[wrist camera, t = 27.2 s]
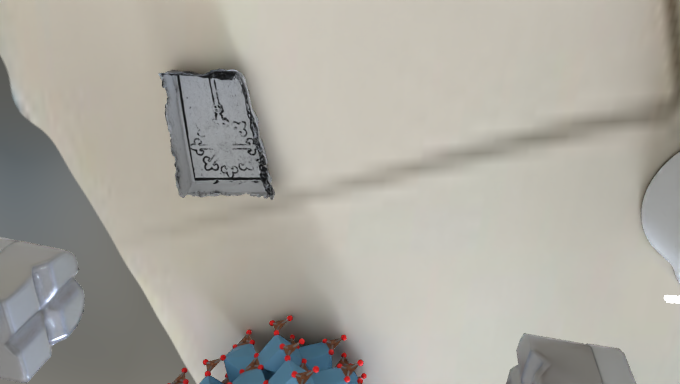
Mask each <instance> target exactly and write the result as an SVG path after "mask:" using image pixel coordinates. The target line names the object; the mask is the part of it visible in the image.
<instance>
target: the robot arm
mask: <svg viewBox="0 0 680 384" xmlns="http://www.w3.org/2000/svg"><path fill="white" fill-rule="evenodd" d="M641 220H642V226H643V230H644V233H645V235H646V237H647V239H648V241H649V242H650V244H651V245H652V246H653V247H654V249H655V250H656V251H657V252H658V253H660V254H661V255H662V256H663V257H664V258H665V259H666V260H667V261H668V262H669V263H670V264H671V265H672V266H673V270H674V273H675V275H676V278H677V280H678V282H679V283H680V152H678V153H677V154H676V155H675V156H673V157H672V158H671V159H670V160H669V161H668V162H667V163H666V164H665V165H664V166H663V167H662V168H661V169H660V170H659V171H658V172H657V174H656V175H655V176H654V178H653V179H652V181H651V183H650V185H649V186H648V188H647V191H646V193H645V196H644V199H643V203H642V209H641ZM78 270H79V267H78V263H77V259H76V256H75V254H73V253H71V252H69V251H67V250H63V249H58V248H53V247H48V246H43V245H38V244H33V243H29V242H24V241H16V240H12V239H7V238H2V237H0V379H5V380H10V381H16V382H21V383H27V382H28V381H29V380H30V379H31V378H32V376H33V375H34V374H35V373H36V372H37V371H38V370H39V369H40V368H41V367H42V365H43V364H44V363H45V362H46V361H47V360H48V359H49V358H50V357H51V355H52V345H53V344H55V343H57V342H59V341H61V340H63V339H65V338H67V337H68V336H69V335H70V334H71V333H72V332H73V330H74V329H75V328H76V327H77V326H78V323H79V321H80V319H81V316H82V314H83V312H84V304H85V297H84V292H83V288H82V287H81V286H80V284H79V283H78V282H77V281H76V280H75V279H74V276H75V275H76V273H77V272H78ZM664 299H665V301H666V303H680V296H666V295H665V296H664ZM516 351H517V358H518V365H517V366H515V367H513V368H512V369H510V372H509V375H508V379H507V382H506V384H636V381H635V379H634V376H633V374H632V371H631V369H630V366H629V364H628V362H627V359H626V357H625V354H624V353H623V352H622V351H621V350H620V349H619V348H612V347H606V346H600V345H594V344H583V343H578V342H572V341H566V340H561V339H555V338H549V337H543V336H538V335H532V334H526V333H524V334H523V336H522V337H521V339H520V341H519V344H518V347H517V350H516Z"/></svg>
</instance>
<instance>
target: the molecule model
mask: <svg viewBox="0 0 680 384" xmlns="http://www.w3.org/2000/svg"><path fill="white" fill-rule="evenodd" d="M292 319H293V317H292V316H291V315H289V316H288V317H287V319H285V320H282V321H278V322H274V321H273V320H271V321H270V323H269V324H270V325H271V326H274V328H275V331H274V337H273V338H272V339H271V340H270V341H269V342H268V344H267V345H266V346H265V347H264V348H263V349H262V351H261V352H260V353H256V352H255V349H254V346H253V345H254V344H255V341H254V340H251V337H250V335H251V333H252V332H251V330H247V332H246V334H247V335H246V336H245V337H244V338H243V339H242V340H241V341H240V343H239V344H238V345H237V344H234V345H233V349H232V350H231V351H230V352H229V353H228V354H227V355H226V356H225V355H221V357H220V359H216V360H212V361H208V360H207V359H205V360H204V361H203V364H204V365H206V366H207V371H206V372H205V376H206V377H205V378H204V379H203V380H202V381H201V382H200V384H362V383H363V380H362V378H363V379H365V378H366V374H365V373H363V374H362V375H361V377H357V375H356V374H355V372H354V370H355V369H356V368H357V366H358V365H359V366H362V365H363V361H362V360H358V362H357V363H356V364H349V363H348V361H347V359H346V356H347V355H346V353H342V354H341V356H342V359H341V360H340V361H339V363H338V364H337V365H336V366H335V368H332V356H331V355H333V354H334V348H335V347H336V346H337V345H338V344H339V343H340V341H341V340H343V341H344V340H346V338H347V337H346V335H342V336H341V338H340V339H335V340H330V341H327V339H323V340H322V342H320V343H316V344H311V345H307V346H302V347H300V346H299V344H301V345H303V344H304V343H305V340H304V339H300V340H299V342H298V343H295V342H294V339H295V336H294V335H290V340H289V341H287V340H286V339H284V338H283V337H281V336H280V335H279V330H280V329H281V328H282V326H283V325H284V324H285V323H286V322H287V321H291V320H292ZM221 360H222V361H224V363H225V367H226V371H227V374H226V375H225V379H224V380H223V381H222V382H220V381H219V380H217V379H215V378H214V377H212V376H210V375H211V372H210V371H211V370H212V369H213V368H214V367H215V366H216V365H217V364H218V363H219V362H220V361H221ZM186 372H187V368H183V369H182V374H181V375H180V376H179V377H178V378H177V379H176V380H175V381H174V382H173V383H172V384H188V380H187V379H185V373H186ZM168 384H170V383H168Z"/></svg>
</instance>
